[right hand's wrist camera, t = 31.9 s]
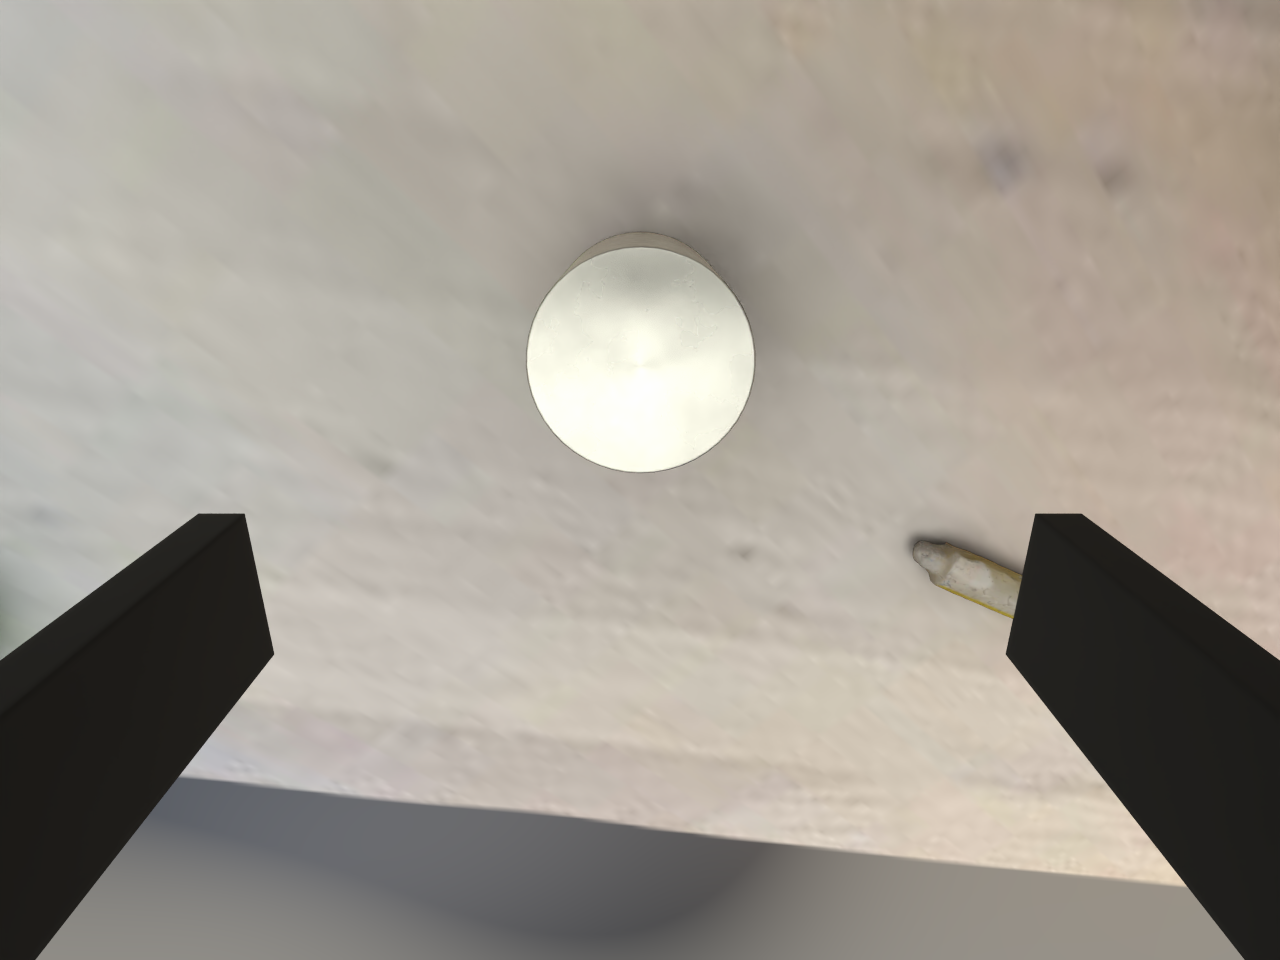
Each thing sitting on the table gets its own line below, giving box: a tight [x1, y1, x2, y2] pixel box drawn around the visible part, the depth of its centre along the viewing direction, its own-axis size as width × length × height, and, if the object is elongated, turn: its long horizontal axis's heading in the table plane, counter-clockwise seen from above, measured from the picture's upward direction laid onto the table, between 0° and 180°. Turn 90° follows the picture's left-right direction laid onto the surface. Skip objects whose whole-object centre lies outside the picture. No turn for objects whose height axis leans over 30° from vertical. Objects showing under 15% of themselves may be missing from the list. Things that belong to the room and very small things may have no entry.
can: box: [526, 232, 755, 473], centre depth 32 cm, size 9×9×9 cm
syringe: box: [913, 541, 1022, 619], centre depth 41 cm, size 25×4×3 cm, turn 63°
